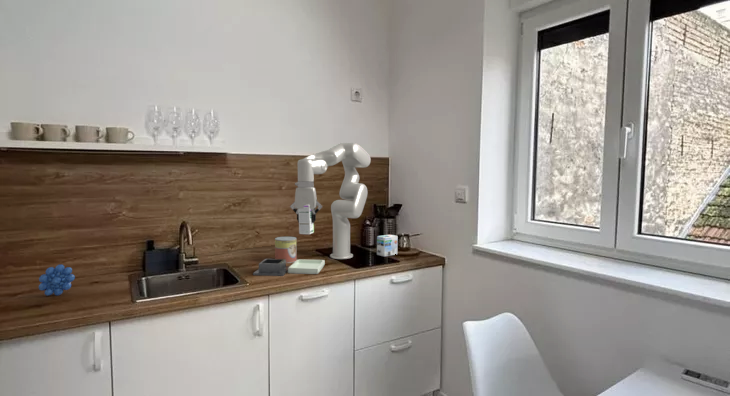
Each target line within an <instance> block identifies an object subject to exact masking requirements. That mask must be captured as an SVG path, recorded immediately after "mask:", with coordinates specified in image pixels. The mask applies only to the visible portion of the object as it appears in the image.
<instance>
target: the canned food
mask: <svg viewBox="0 0 730 396" xmlns="http://www.w3.org/2000/svg"><path fill="white" fill-rule="evenodd" d="M274 259H286V264H291V263H292V264H293V263H294V262H295V261H296V260H297V259H298V257H297V237H296V236H277V237H275V238H274Z"/></svg>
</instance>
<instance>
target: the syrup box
mask: <svg viewBox="0 0 730 396" xmlns="http://www.w3.org/2000/svg"><path fill="white" fill-rule="evenodd" d="M298 210H299V222H298V234H299V235H311V234H314V233H315V222H314V223H312V214H313V212H312V210H311V209H310V205H309V204H306V205H304V208H300V209H298Z"/></svg>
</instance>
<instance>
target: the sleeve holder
mask: <svg viewBox="0 0 730 396" xmlns="http://www.w3.org/2000/svg"><path fill="white" fill-rule="evenodd" d="M290 266H291V265H289V266H287V263H286V259H275V258H264V259H263V260H262V261H261V262H259V263H258V269H257V270H255V271H254V272H253V273H252V275H253V276H263V277H265V276H268V277H269V276H270V277H271V276H272V277H274V276H275V277H283V276H285V275H286V274H288V268H289V267H290Z"/></svg>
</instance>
